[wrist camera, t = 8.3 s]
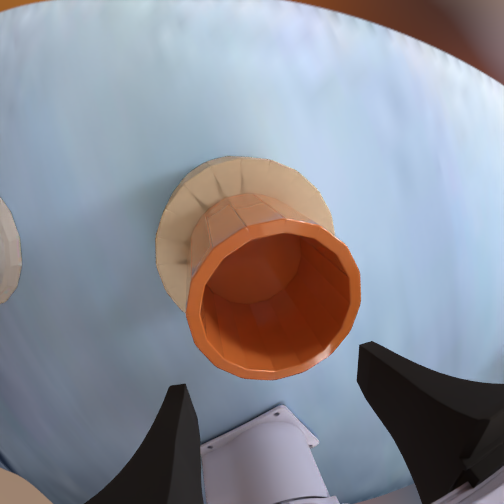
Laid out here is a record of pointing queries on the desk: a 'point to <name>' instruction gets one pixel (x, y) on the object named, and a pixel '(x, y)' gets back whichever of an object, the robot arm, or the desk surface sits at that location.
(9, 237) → the french press
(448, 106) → the desk surface
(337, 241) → the cup
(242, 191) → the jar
